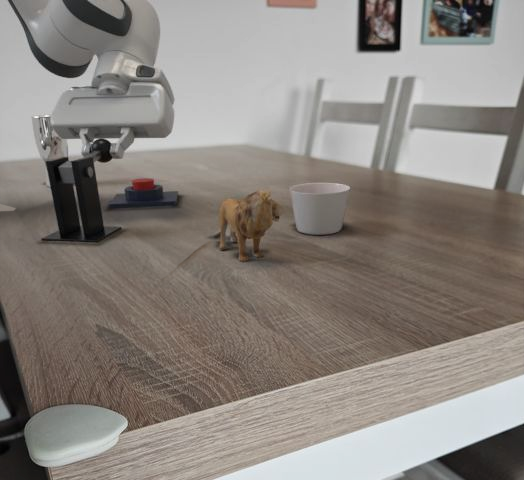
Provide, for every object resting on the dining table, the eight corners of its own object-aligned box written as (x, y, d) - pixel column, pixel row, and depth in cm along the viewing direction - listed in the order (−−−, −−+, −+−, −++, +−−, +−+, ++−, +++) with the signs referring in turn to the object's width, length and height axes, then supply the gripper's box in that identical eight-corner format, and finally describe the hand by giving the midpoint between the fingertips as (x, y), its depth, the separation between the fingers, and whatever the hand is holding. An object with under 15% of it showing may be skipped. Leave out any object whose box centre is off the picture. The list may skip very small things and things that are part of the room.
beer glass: (53, 188, 125) (39, 117, 118) (38, 185, 129) (24, 116, 122) (81, 184, 129) (69, 114, 123) (65, 181, 134) (53, 114, 127)
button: (131, 192, 102) (130, 182, 101) (134, 188, 105) (133, 178, 104) (153, 191, 102) (152, 181, 101) (155, 187, 105) (154, 177, 105)
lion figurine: (289, 260, 72) (288, 189, 68) (255, 268, 69) (252, 195, 65) (229, 238, 83) (225, 175, 79) (198, 244, 80) (193, 180, 76)
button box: (109, 213, 100) (106, 194, 98) (118, 202, 109) (115, 184, 107) (176, 210, 101) (174, 190, 99) (179, 199, 110) (177, 181, 108)
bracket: (71, 232, 88) (56, 155, 83) (122, 234, 86) (111, 155, 81) (42, 246, 81) (24, 162, 76) (98, 248, 79) (83, 163, 74)
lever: (100, 158, 90) (94, 135, 88) (120, 158, 89) (115, 135, 87) (59, 187, 80) (52, 162, 78) (81, 187, 79) (75, 162, 77)
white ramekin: (338, 221, 90) (339, 181, 87) (356, 235, 82) (358, 191, 79) (284, 225, 89) (284, 184, 86) (297, 239, 81) (297, 195, 78)
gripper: (54, 73, 90) (32, 143, 86) (171, 68, 86) (153, 142, 82) (73, 101, 96) (53, 168, 92) (183, 98, 92) (168, 169, 88)
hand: (101, 156), depth 87 cm, fingers closed on lever, 3 cm apart
